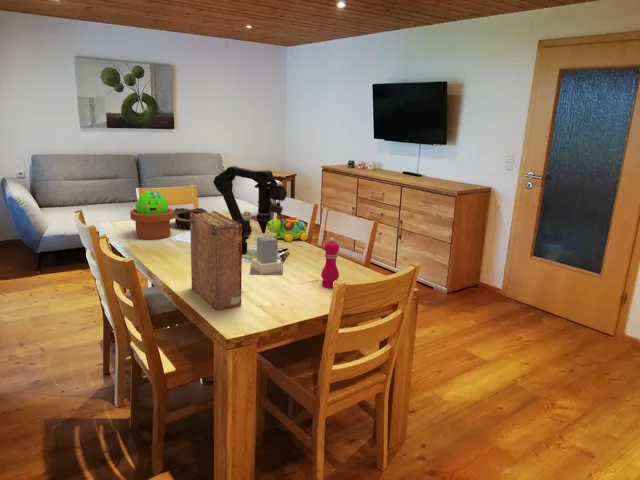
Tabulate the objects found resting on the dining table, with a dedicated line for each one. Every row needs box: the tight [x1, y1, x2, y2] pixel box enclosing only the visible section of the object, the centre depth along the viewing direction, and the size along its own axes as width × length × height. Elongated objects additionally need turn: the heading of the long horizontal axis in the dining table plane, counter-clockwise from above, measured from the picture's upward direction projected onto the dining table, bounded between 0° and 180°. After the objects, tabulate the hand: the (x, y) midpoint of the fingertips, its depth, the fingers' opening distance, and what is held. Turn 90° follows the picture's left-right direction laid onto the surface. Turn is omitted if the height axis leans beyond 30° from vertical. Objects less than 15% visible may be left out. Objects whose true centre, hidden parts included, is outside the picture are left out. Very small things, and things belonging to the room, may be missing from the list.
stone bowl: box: [173, 207, 208, 230], centre depth 284 cm, size 25×25×9 cm
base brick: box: [250, 257, 283, 274], centre depth 209 cm, size 10×10×4 cm
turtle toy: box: [266, 216, 309, 243], centre depth 266 cm, size 17×23×12 cm
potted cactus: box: [129, 190, 175, 240], centre depth 257 cm, size 22×22×25 cm
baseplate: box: [248, 264, 284, 276], centre depth 210 cm, size 14×15×1 cm
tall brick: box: [256, 235, 279, 264], centre depth 208 cm, size 7×7×10 cm
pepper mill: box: [320, 237, 340, 289], centre depth 195 cm, size 7×7×20 cm
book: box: [189, 210, 243, 311], centre depth 176 cm, size 25×9×30 cm, turn 34°
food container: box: [241, 211, 253, 224], centre depth 279 cm, size 12×6×10 cm, turn 168°
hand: (264, 231), depth 227 cm, fingers open, 9 cm apart
